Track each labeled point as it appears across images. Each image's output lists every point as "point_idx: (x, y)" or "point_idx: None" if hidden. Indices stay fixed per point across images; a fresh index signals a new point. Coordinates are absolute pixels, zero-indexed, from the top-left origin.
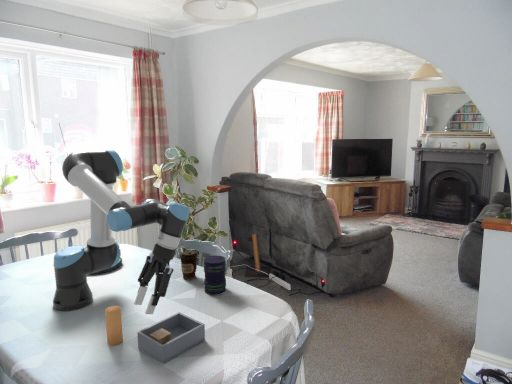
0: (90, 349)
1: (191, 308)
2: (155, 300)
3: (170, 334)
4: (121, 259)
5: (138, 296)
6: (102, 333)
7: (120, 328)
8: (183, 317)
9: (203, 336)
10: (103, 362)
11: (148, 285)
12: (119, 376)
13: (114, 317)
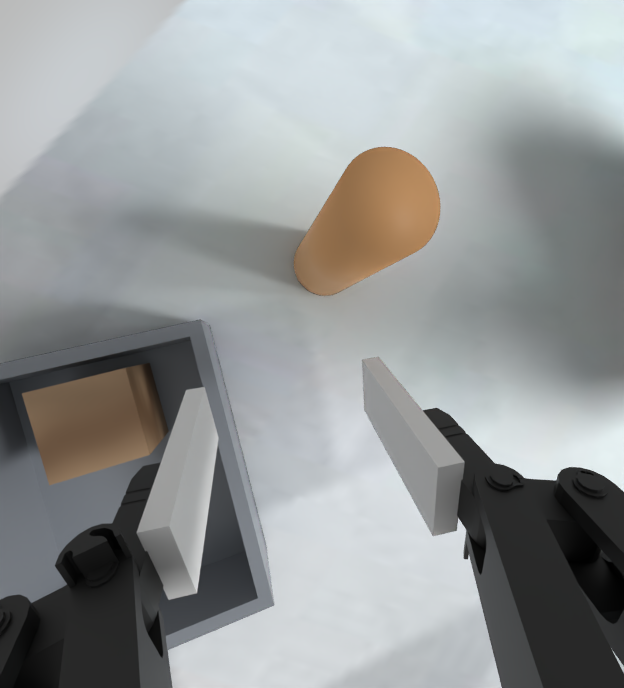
0: (325, 166)
1: (394, 647)
2: (114, 523)
3: (50, 476)
4: None
5: (387, 400)
6: None
7: (315, 267)
8: (216, 606)
9: None
10: (196, 172)
11: (465, 556)
12: (43, 185)
13: (327, 207)
